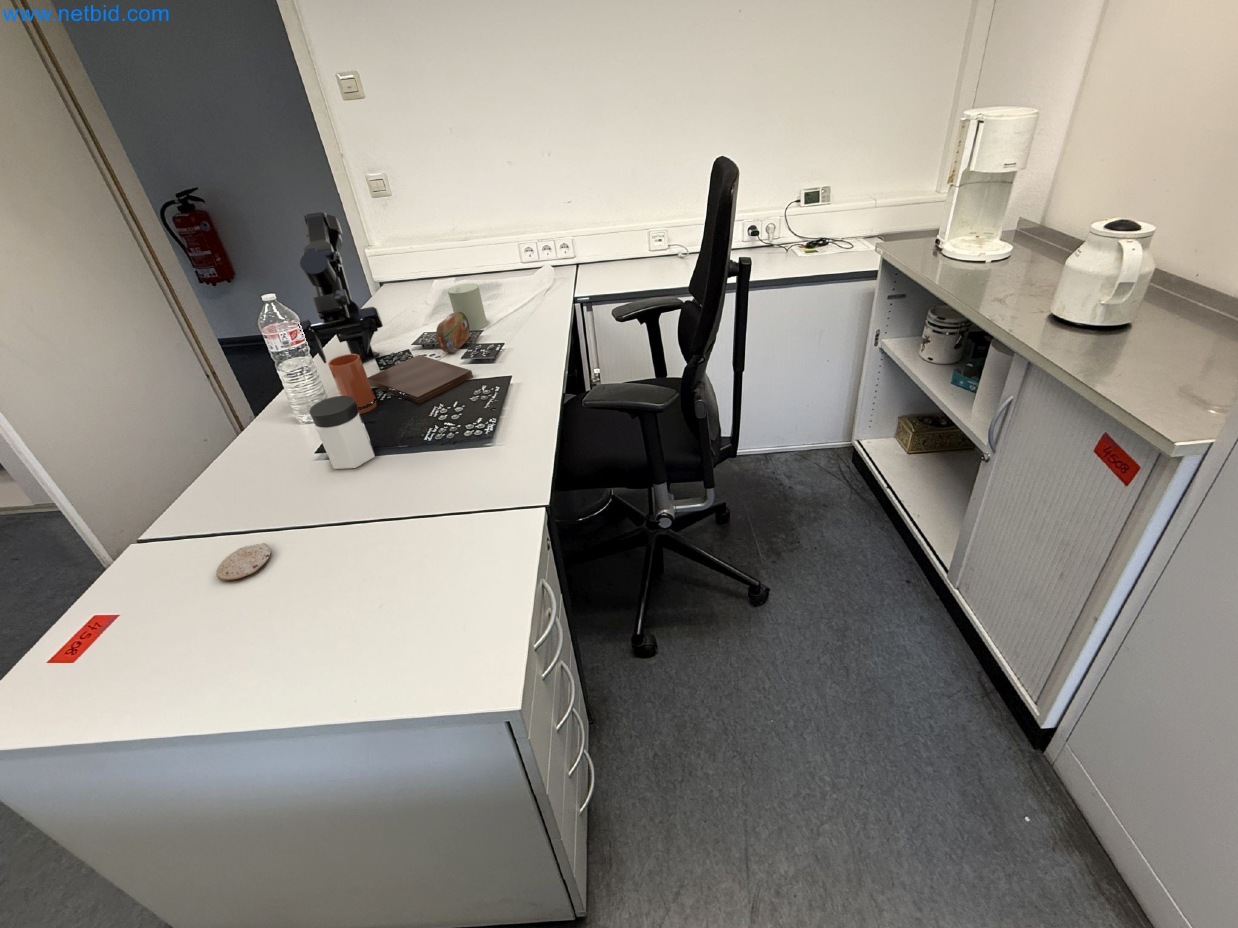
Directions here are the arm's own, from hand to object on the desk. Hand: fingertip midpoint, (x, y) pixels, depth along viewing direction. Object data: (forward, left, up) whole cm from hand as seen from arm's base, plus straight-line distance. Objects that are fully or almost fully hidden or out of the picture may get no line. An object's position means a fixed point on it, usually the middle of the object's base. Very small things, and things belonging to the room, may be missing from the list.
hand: (346, 357), depth 133 cm
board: (+4, +14, -11) cm, 18 cm away
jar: (+23, -16, -11) cm, 30 cm away
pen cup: (+3, -2, -11) cm, 12 cm away
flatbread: (+37, -43, -11) cm, 57 cm away
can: (-15, +46, -11) cm, 50 cm away
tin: (-6, +33, -11) cm, 36 cm away
